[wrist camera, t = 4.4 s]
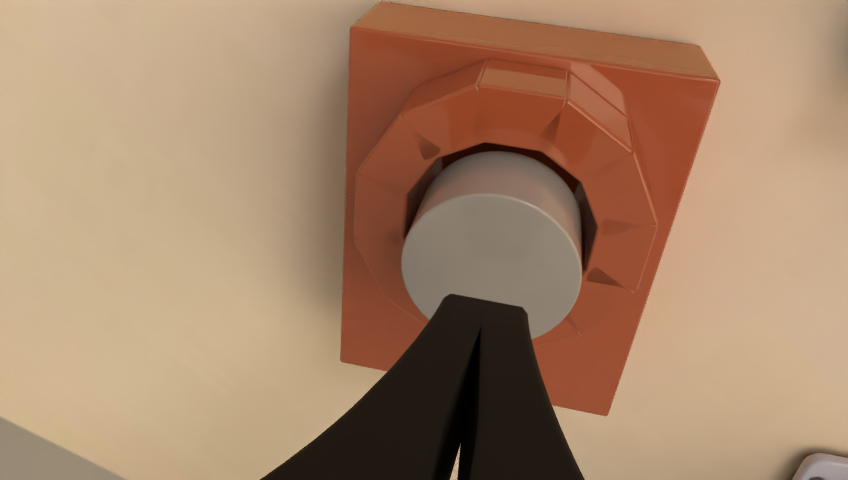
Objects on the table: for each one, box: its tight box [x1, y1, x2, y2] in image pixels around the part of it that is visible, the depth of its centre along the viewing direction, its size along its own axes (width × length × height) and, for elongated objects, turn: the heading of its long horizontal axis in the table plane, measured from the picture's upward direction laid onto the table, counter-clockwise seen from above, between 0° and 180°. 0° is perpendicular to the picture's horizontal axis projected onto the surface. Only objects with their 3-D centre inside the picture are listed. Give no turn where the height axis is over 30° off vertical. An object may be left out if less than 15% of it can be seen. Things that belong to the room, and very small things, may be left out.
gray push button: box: [401, 151, 582, 339], centre depth 14 cm, size 4×4×2 cm
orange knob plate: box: [340, 2, 720, 416], centre depth 17 cm, size 10×8×4 cm
